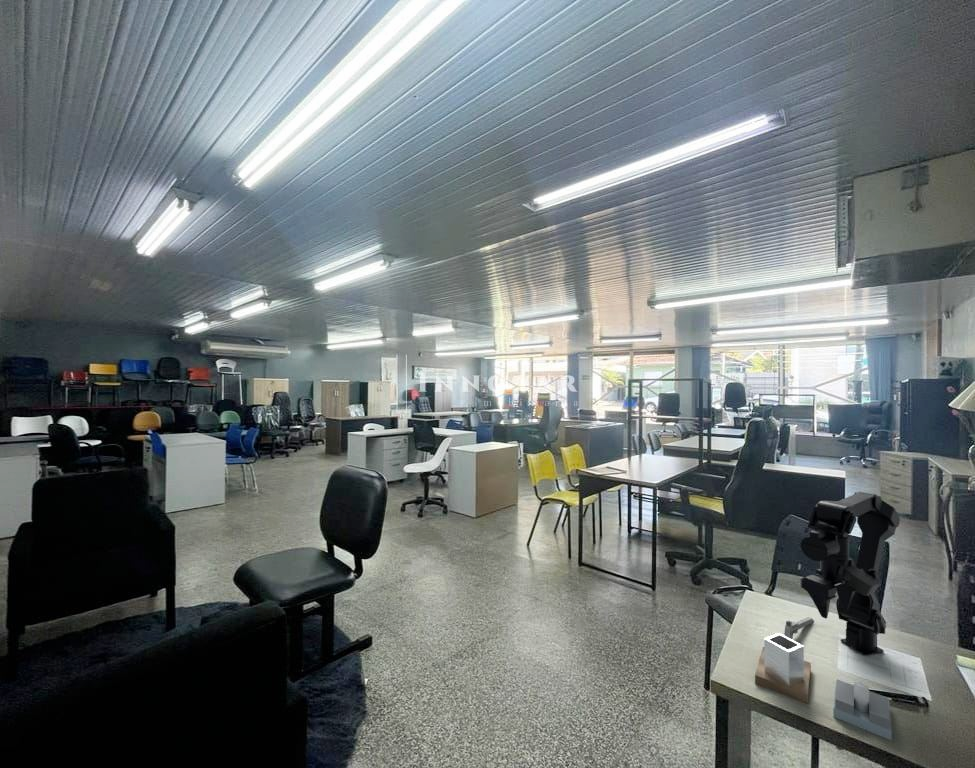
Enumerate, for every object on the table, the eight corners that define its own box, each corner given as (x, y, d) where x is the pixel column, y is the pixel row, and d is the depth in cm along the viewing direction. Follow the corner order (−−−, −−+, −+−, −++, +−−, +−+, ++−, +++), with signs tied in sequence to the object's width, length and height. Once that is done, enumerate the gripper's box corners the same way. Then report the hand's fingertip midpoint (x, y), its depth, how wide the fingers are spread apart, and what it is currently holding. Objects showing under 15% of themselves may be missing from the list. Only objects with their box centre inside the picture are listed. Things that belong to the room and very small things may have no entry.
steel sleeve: (779, 665, 103) (778, 632, 103) (803, 679, 98) (803, 645, 98) (764, 671, 101) (764, 638, 101) (789, 686, 96) (788, 652, 96)
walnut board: (763, 654, 110) (763, 646, 110) (810, 670, 104) (810, 662, 104) (755, 683, 100) (755, 674, 100) (807, 703, 93) (807, 694, 93)
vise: (836, 688, 98) (835, 659, 98) (889, 708, 92) (888, 677, 92) (833, 716, 90) (833, 684, 90) (891, 740, 84) (891, 705, 84)
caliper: (788, 647, 114) (788, 624, 114) (784, 645, 115) (784, 622, 115) (813, 621, 126) (813, 600, 126) (809, 619, 127) (809, 599, 127)
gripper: (851, 572, 95) (852, 640, 95) (894, 558, 103) (894, 621, 103) (798, 554, 105) (799, 615, 105) (841, 542, 113) (841, 600, 113)
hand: (834, 613), depth 106 cm, fingers open, 9 cm apart
